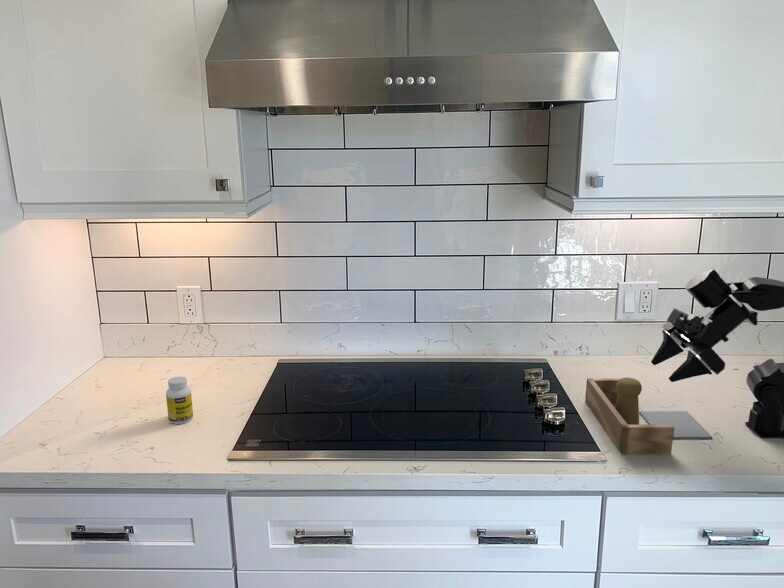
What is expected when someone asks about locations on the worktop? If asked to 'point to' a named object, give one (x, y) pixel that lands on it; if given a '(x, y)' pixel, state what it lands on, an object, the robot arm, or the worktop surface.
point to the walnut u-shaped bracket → (624, 435)
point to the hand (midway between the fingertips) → (660, 371)
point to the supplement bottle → (179, 401)
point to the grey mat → (677, 423)
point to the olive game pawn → (628, 400)
